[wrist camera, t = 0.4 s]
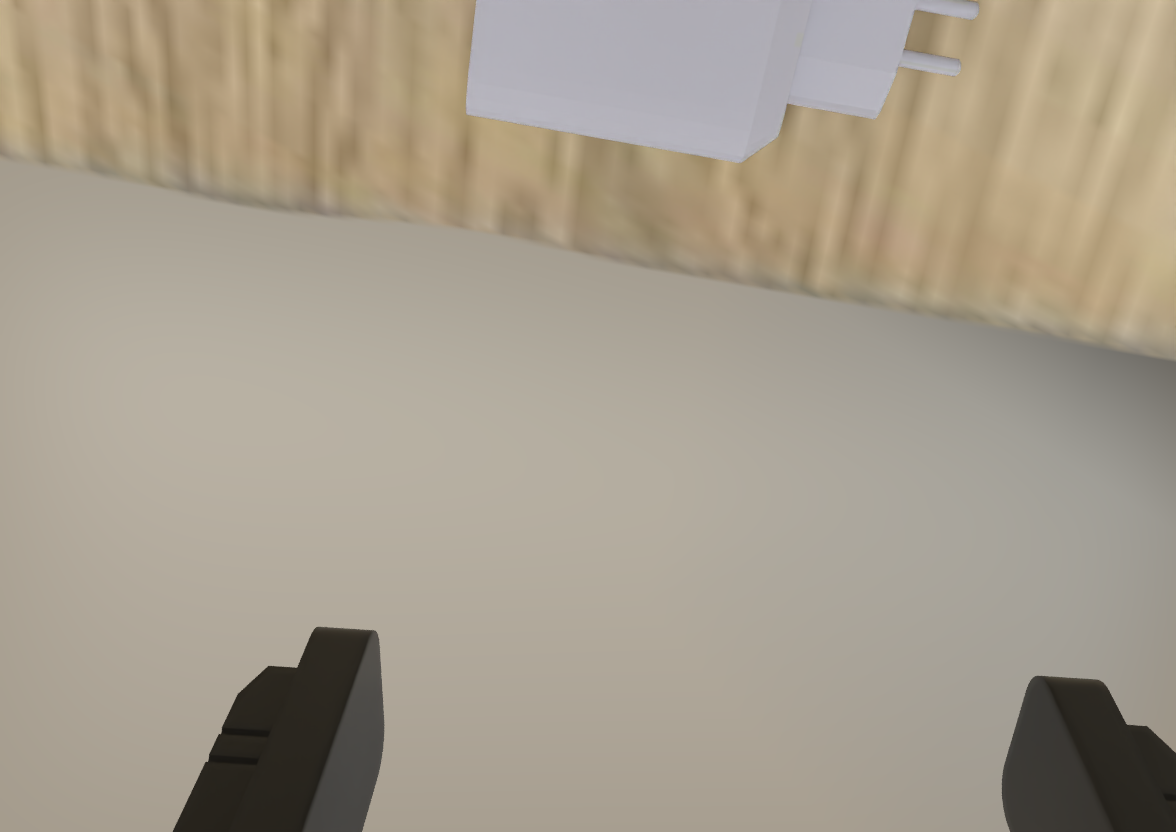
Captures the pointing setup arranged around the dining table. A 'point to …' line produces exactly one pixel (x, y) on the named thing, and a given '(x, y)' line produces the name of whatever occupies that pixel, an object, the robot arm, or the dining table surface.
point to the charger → (691, 65)
